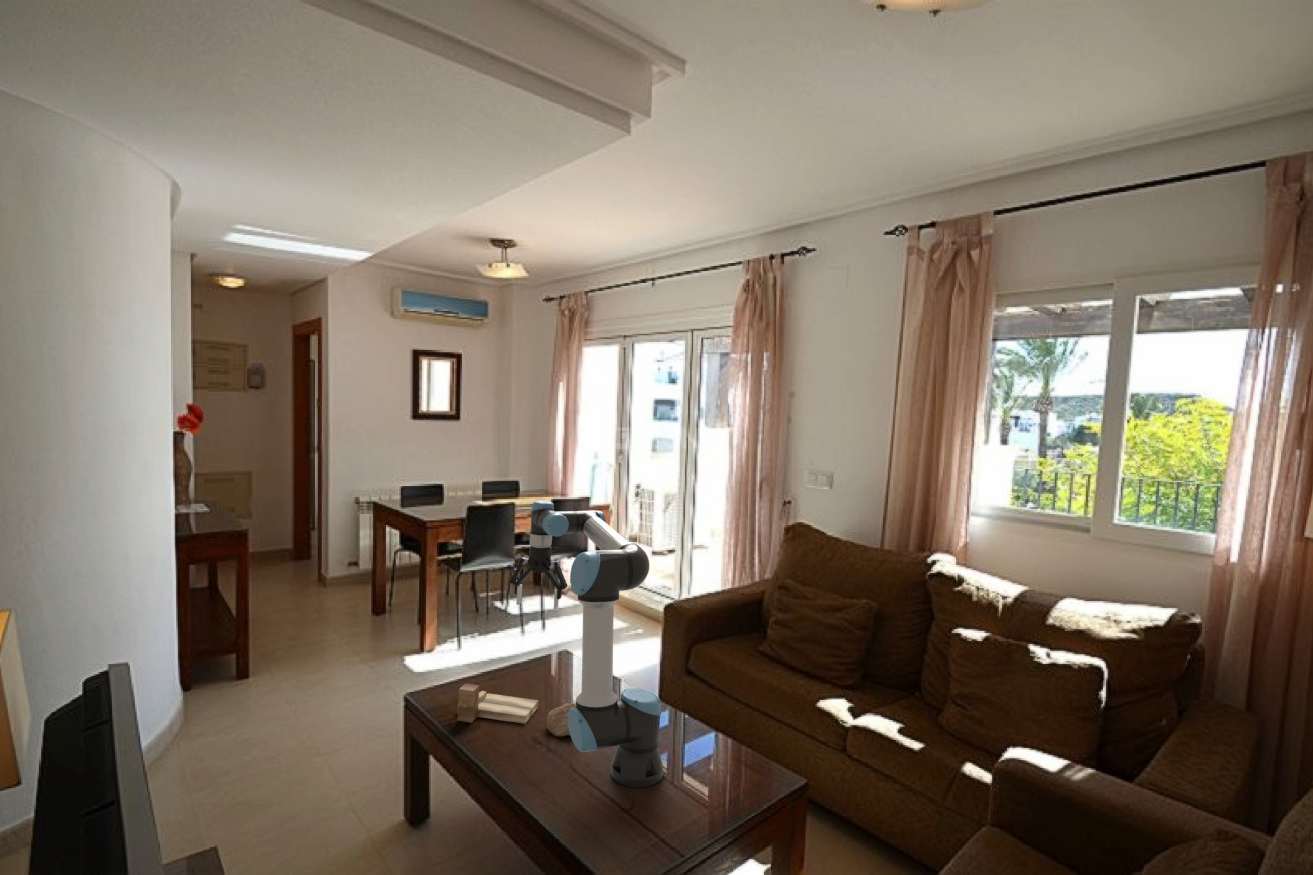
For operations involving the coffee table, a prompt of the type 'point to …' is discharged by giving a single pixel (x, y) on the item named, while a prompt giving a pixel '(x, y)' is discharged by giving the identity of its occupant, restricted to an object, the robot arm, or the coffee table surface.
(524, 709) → the board
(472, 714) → the block
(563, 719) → the stone
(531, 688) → the coffee table surface
